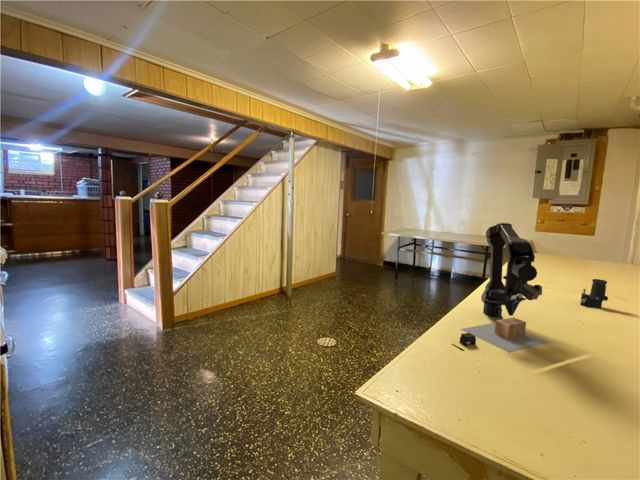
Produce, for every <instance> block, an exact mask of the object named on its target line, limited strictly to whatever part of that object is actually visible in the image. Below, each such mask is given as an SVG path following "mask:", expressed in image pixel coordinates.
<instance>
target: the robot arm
mask: <svg viewBox="0 0 640 480" xmlns="http://www.w3.org/2000/svg"><path fill="white" fill-rule="evenodd" d="M485 237H486V243H487V244H488V246H489V247H490V266H489V267H490V268H489V269H490V270H489V281H488V282H487V283H486V285H485V287H484V288H485V289H484V290H483V293H482V294H481V297H480V298H481V302H482V303H483V312H482V313H483V314H484V315H485V316H488V317H492V318H495V319H499V318H500V319H503V318H504V317H503V314H502V312H503V308H502V306H504V308H505V309H506V311H507V313H508V316H510V317H511V316H514V314H515V312H516V310H517V308H518V307H519V305H520V303H522V302H523V301H526V300H529V301H533V300H535V301H536V300H538V298H539V296H542V295H543V293H542V292H543V286H542V285H541V284H535V285H532V284H529V283H528V282H531V281H533V280H535V279H536V277H537V276H538V272H537V268H536V267H535V266H533V265H532V263H534V262H535V259H536V256H535V253H534V249H533V246H532V245H531V242H529V241H528V240H527V239H525V238H522V237H520V236H519V235H518V233H517V232H516V231H515V229H514V228H513V225H512V224H511V223H509V222H498V223H497V224H496V225H492V226H490V227H488V228H487V230H486V231H485ZM504 251H505V255H506V259H507V266H506V275H503V259H504V258H503V257H504V256H503V253H504ZM503 280H505V281H504V282H505V283H503Z"/></svg>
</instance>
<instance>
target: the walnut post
mask: <svg viewBox="0 0 640 480" xmlns="http://www.w3.org/2000/svg"><path fill="white" fill-rule="evenodd" d="M495 322H496V324H495V334H497V335H500V336H502V337H504V338H506V339H508V338H513V337H517V336H521V335H525V332H526V325H527V322H526V321H525V320H522V319H519V318H516V317H507V318H504V319H503V318H501V319H498V320H495Z"/></svg>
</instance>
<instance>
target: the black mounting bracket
mask: <svg viewBox="0 0 640 480" xmlns="http://www.w3.org/2000/svg"><path fill="white" fill-rule="evenodd" d="M476 342H477V337H476V336H474V335H473V334H471V333H467V332H465V333H464V332H463V333H461V334H460V337H459V343H460V344H462V345H463V346H465V347H467V346H468V344H467V343H471V346H473V345H474V346H476V344H477V343H476ZM451 346H453V347H455V348H457V349H458V350H460V351H462V352H464V351H466V350H465V349H463V348H461V347H459V346H457V345H455V344H454V343H451Z"/></svg>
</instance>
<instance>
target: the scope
mask: <svg viewBox="0 0 640 480" xmlns="http://www.w3.org/2000/svg"><path fill="white" fill-rule="evenodd" d="M591 283H592V284H591V289H590V293H589V294H586V292H587V291H586V290H587V289H586V288H583V289H582V293H581V297H580V306H582V307H590V308H593V309H599V310H601V309H602V307H603V302H604V301H605V302H607V301H608V300H609V297H608V296H607V295H606V292H607V290H606V289H607V284H608V281H607V280H605V279H601V278H600V279H597V278H594V279H593V278H592V281H591Z"/></svg>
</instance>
